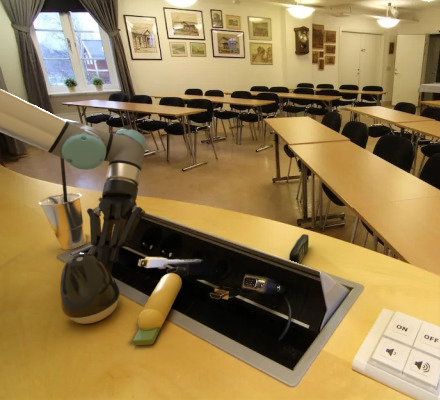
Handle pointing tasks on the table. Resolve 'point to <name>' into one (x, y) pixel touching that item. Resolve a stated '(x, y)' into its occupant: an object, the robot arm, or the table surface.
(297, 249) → the mobile phone
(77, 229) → the silver cup with straw
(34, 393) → the table surface
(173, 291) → the corn cob
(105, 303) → the dark brown egg shape
